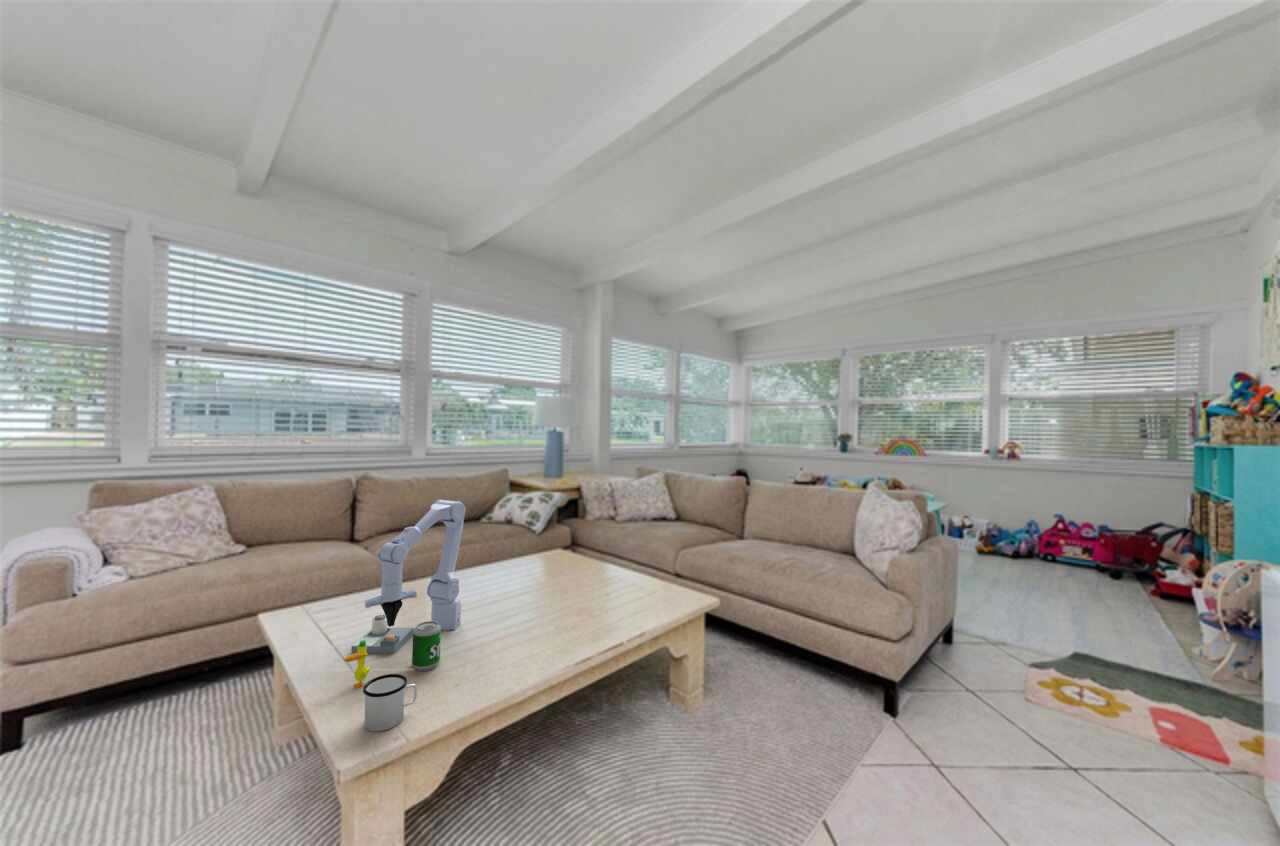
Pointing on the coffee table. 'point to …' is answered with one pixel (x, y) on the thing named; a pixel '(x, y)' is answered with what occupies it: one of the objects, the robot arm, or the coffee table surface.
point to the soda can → (426, 646)
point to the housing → (380, 645)
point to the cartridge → (379, 625)
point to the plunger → (390, 638)
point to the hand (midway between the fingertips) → (390, 625)
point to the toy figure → (359, 663)
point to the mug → (385, 701)
